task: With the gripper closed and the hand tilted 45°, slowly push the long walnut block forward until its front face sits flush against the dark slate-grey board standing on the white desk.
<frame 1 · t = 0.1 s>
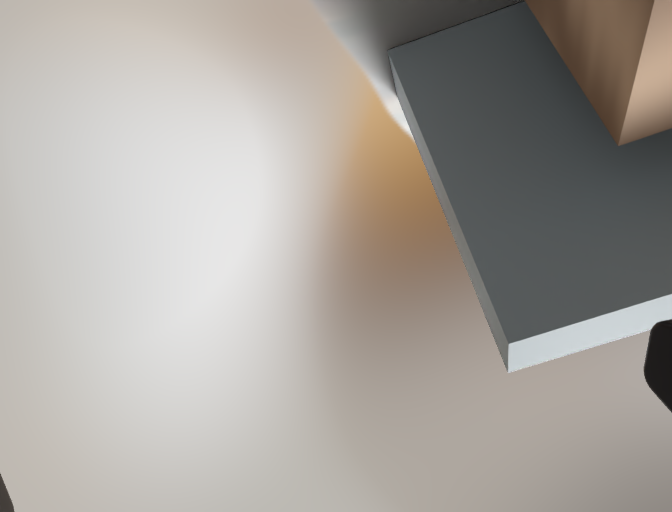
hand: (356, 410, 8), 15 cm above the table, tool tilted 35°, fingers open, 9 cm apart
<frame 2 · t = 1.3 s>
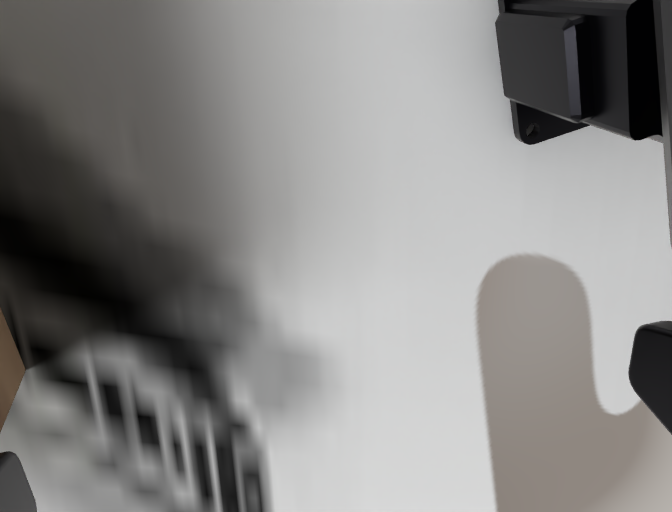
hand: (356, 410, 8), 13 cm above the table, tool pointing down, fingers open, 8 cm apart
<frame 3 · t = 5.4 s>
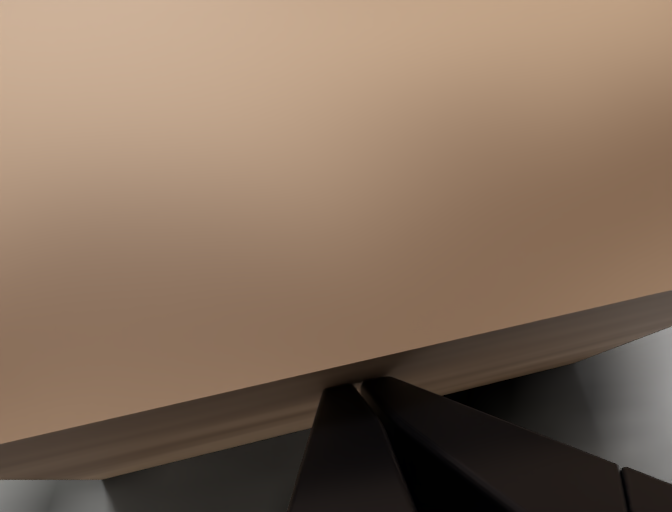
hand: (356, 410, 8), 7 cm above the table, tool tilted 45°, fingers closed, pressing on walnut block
walnut block: (293, 168, 17), on the table, touching gripper
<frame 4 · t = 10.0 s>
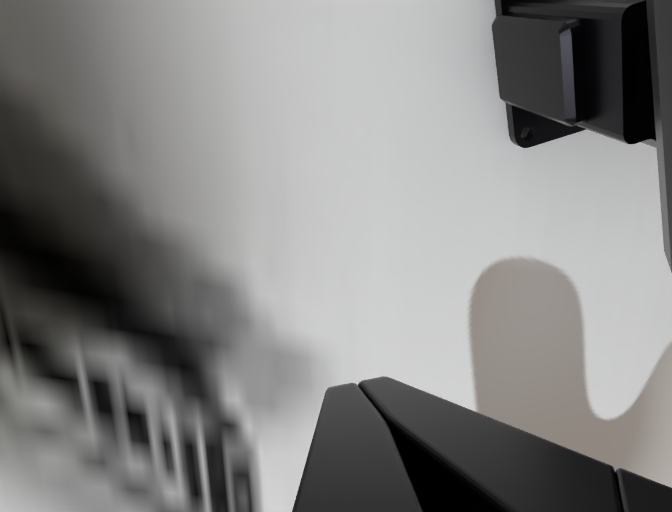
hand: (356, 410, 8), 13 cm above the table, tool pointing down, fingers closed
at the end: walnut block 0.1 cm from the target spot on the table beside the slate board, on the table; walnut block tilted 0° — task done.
